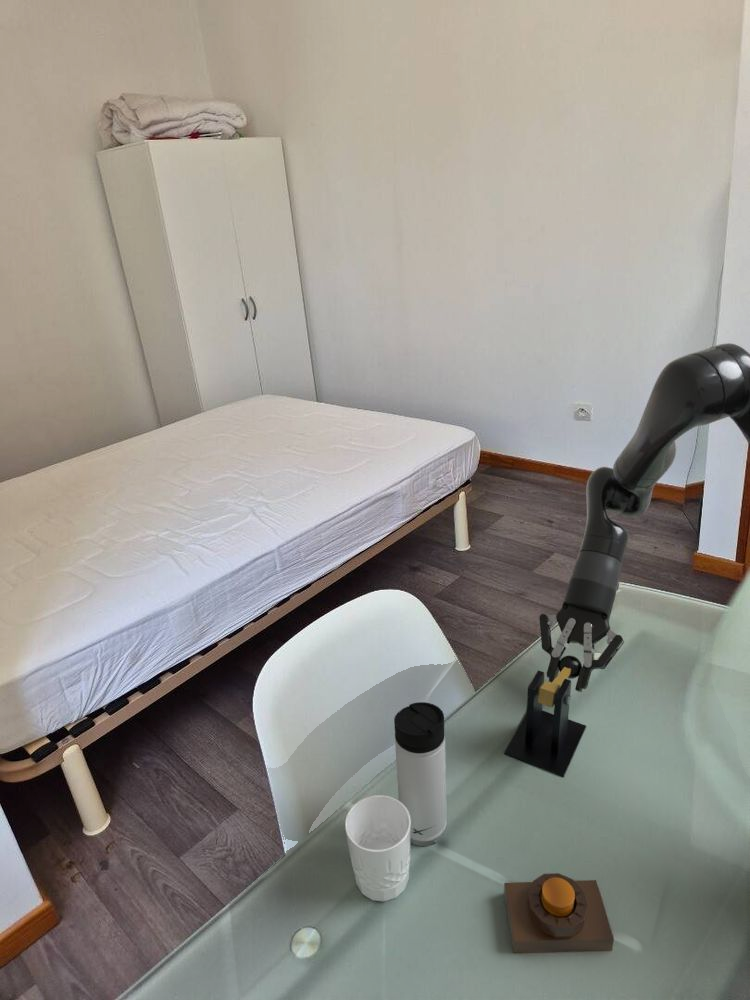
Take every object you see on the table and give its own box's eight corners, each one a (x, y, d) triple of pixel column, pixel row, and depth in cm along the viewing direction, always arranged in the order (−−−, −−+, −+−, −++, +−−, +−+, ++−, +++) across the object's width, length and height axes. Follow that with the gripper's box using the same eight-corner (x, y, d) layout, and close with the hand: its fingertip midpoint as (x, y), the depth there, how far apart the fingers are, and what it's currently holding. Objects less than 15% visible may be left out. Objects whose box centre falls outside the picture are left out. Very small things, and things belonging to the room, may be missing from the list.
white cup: (360, 915, 82) (354, 860, 78) (344, 858, 89) (338, 804, 85) (422, 895, 84) (419, 839, 80) (402, 841, 91) (398, 787, 86)
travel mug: (424, 858, 88) (419, 743, 80) (390, 825, 93) (382, 713, 84) (458, 829, 92) (457, 716, 83) (424, 799, 97) (420, 689, 88)
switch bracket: (529, 711, 111) (532, 653, 105) (585, 731, 106) (591, 671, 101) (503, 758, 102) (505, 697, 97) (563, 781, 98) (568, 719, 93)
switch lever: (560, 669, 112) (563, 649, 111) (582, 676, 110) (586, 656, 109) (532, 704, 100) (535, 682, 99) (556, 713, 98) (560, 690, 97)
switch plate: (594, 891, 83) (597, 869, 81) (612, 951, 77) (615, 929, 75) (503, 894, 84) (504, 872, 82) (513, 953, 77) (514, 931, 75)
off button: (569, 886, 80) (570, 876, 79) (577, 916, 77) (578, 906, 76) (538, 887, 80) (539, 877, 80) (545, 917, 77) (545, 907, 76)
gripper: (546, 567, 113) (516, 669, 109) (636, 589, 106) (607, 698, 102) (555, 579, 119) (527, 676, 115) (640, 600, 112) (613, 704, 108)
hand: (565, 686), depth 108 cm, fingers closed on switch lever, 3 cm apart
